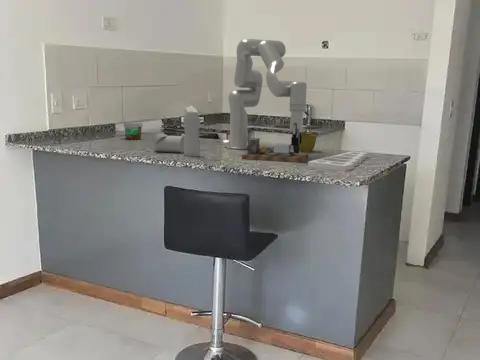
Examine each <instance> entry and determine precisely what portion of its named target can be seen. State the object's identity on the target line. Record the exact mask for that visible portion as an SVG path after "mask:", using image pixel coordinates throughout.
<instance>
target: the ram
mask: <svg viewBox="0 0 480 360" xmlns="http://www.w3.org/2000/svg"><path fill="white" fill-rule="evenodd" d="M296 134H297V133H296ZM299 145H300V133H298V146H291V143H280V142H279V143H275V144H274V145H273V150H274V153H290V152H293V153H295V154H300V150H299Z"/></svg>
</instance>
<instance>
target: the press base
mask: <svg viewBox="0 0 480 360" xmlns="http://www.w3.org/2000/svg"><path fill="white" fill-rule="evenodd" d="M260 139H261V138H257V137H251V138H249V139H248V138H247V145H248V146H247V150H246V152H244V153H242V154H241V160H252V161H253V160H254V161H269V162H270V161H271V162H273V161H274V162H288V163H305V162H306V161H307V160H308V159H309V153H293V152H290V153H274V149H273V150H271V149H270V150H269V151H268V150H267V151H266V153H264V154H261V153H259V152H258V147H259V146H260Z"/></svg>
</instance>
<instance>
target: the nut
mask: <svg viewBox="0 0 480 360" xmlns="http://www.w3.org/2000/svg"><path fill="white" fill-rule="evenodd" d="M258 152H259V153H261V154H264V153H266V152H268V148H267V146H266V145H264V144H259V147H258Z"/></svg>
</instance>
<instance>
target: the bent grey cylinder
mask: <svg viewBox="0 0 480 360" xmlns="http://www.w3.org/2000/svg"><path fill="white" fill-rule="evenodd" d="M184 139H185V136H182V135H181V136H179V135H178V136H177V135H169V136H168V135H167V134H165V133H163V132H162V133H157V134H156V135H155V136H154V137H153V141H152V142H153V145H154V150H153V151H154V152H156V153H157V152H159V153H161V152H162V153H176V154H177V153H179V154H182V153H183V154H184Z"/></svg>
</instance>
